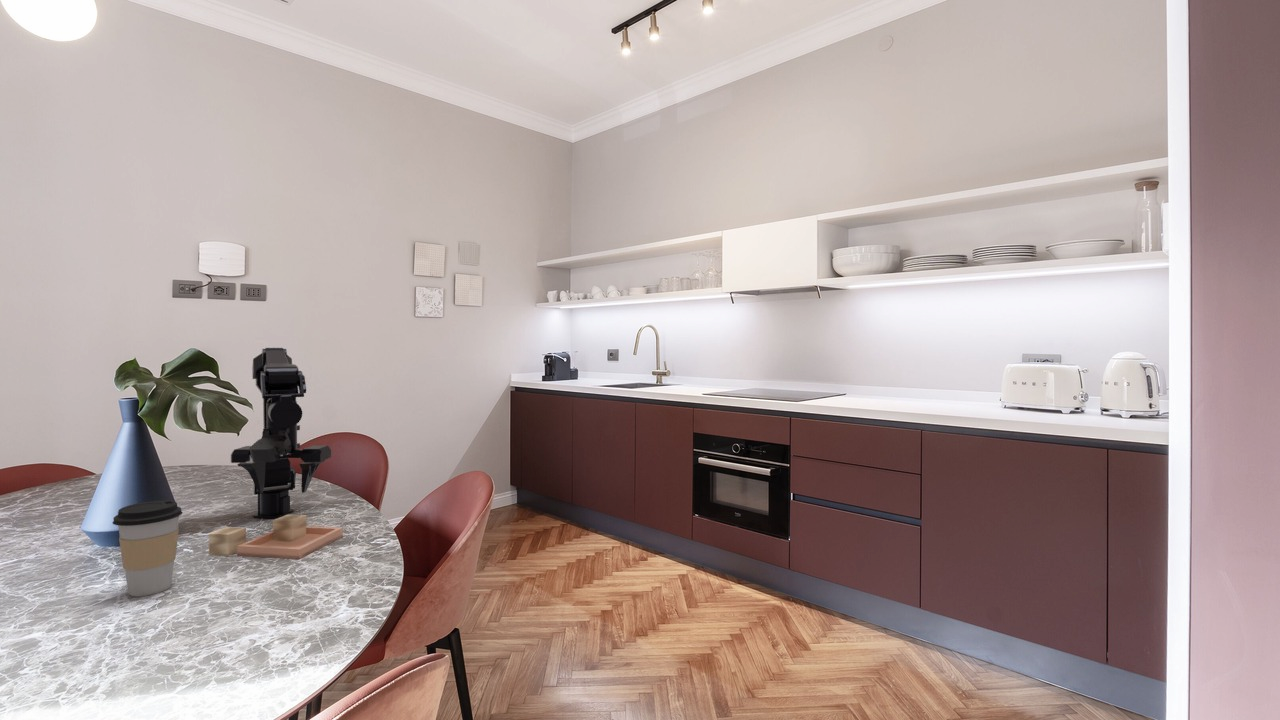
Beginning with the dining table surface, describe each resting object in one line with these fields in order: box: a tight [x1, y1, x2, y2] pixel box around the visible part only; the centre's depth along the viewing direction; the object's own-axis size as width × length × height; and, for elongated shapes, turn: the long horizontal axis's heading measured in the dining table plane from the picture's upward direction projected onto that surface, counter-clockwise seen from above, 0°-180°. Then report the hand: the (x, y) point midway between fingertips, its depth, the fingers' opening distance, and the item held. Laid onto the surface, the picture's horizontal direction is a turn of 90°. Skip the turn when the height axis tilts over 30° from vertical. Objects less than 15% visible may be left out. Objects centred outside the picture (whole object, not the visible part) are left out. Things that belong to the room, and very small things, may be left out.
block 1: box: [208, 526, 247, 557], centre depth 121 cm, size 4×4×4 cm
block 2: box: [272, 513, 307, 541], centre depth 128 cm, size 4×4×4 cm
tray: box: [236, 525, 344, 560], centre depth 125 cm, size 14×14×2 cm
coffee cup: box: [112, 500, 183, 597], centre depth 102 cm, size 9×9×15 cm
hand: (282, 492), depth 127 cm, fingers open, 9 cm apart
